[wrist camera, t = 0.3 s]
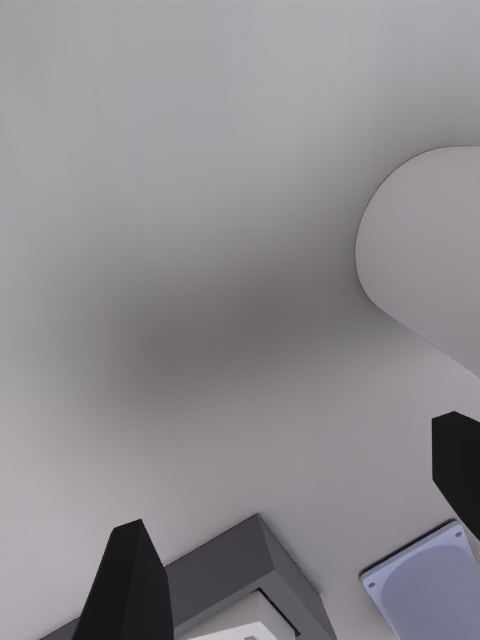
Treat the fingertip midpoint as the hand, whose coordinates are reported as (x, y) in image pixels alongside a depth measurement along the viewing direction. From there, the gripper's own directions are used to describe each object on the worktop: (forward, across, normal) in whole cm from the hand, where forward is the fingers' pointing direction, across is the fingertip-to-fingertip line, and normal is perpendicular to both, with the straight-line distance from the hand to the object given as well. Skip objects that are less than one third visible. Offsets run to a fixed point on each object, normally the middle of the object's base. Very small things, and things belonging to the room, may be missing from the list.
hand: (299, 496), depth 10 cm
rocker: (+7, +5, +17) cm, 19 cm away
